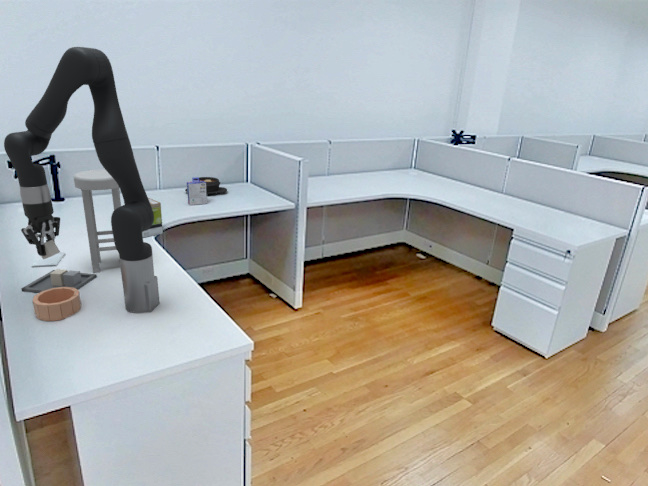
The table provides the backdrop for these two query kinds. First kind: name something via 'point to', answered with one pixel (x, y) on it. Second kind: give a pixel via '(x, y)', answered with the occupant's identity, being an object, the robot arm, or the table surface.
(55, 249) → the pale grey cuboid
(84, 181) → the stool
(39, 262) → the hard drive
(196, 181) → the ink cartridge box
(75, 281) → the light gray block
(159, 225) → the tea box
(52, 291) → the bowl
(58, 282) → the off-white cubic block
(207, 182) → the casserole
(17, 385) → the table surface
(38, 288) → the tray
